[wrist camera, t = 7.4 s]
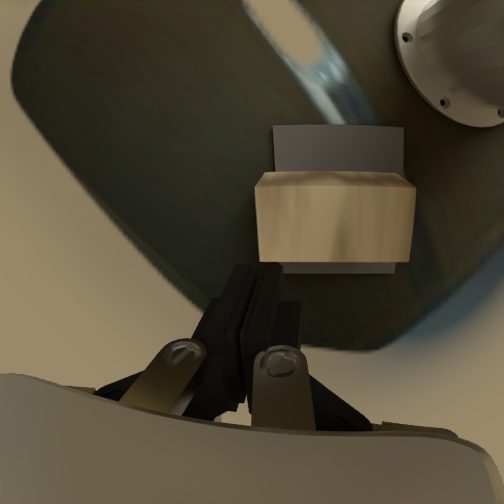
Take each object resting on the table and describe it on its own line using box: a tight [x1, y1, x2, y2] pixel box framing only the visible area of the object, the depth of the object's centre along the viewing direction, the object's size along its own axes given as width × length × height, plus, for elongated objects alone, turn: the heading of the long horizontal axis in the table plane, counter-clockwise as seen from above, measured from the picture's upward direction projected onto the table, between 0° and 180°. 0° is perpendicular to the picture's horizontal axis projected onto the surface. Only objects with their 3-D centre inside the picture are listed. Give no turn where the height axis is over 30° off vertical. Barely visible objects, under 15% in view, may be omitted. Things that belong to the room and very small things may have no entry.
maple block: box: [254, 171, 416, 262], centre depth 22 cm, size 5×5×10 cm
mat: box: [273, 125, 404, 274], centre depth 24 cm, size 10×12×1 cm
